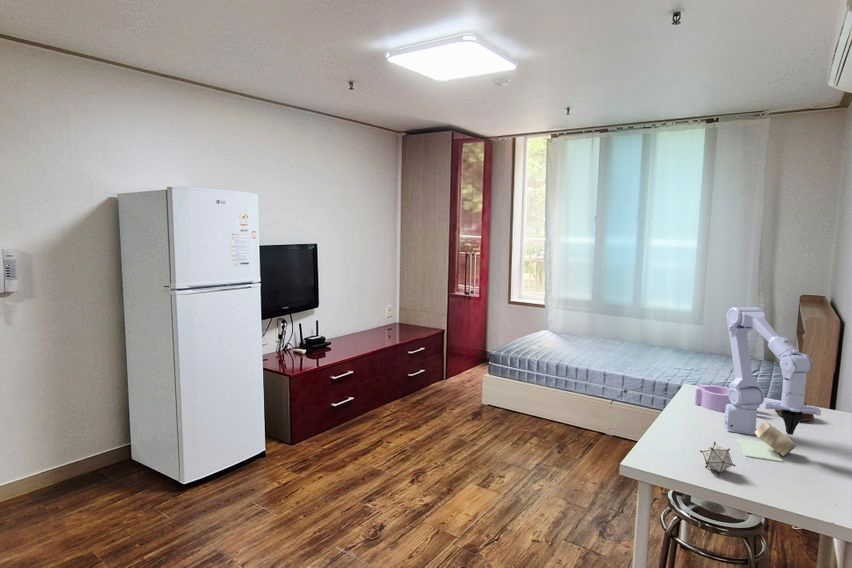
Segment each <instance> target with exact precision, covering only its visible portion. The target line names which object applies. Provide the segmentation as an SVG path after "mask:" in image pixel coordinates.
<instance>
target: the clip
mask: <svg viewBox="0 0 852 568" xmlns="http://www.w3.org/2000/svg"><path fill="white" fill-rule="evenodd" d="M694 393H695V394H694V405H695V406H700V407H702V408H704V409H707V410H710V411H714V412H721V413H725V408H726V404H731V402H730V400H729V397H728V393H729V387H727V386H726V387H725V386H721V385H714V384H713V385H711V384H708V385H707V384H706V385H705V384H702V383H699V384H698V387H695V392H694Z"/></svg>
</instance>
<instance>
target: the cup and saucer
mask: <svg viewBox="0 0 852 568" xmlns="http://www.w3.org/2000/svg"><path fill="white" fill-rule="evenodd" d="M804 405H806V406H808V404H807V402H806V401H804ZM774 412H775V413H776V414H777V415H779V416H781V417H782V414H781V412H780V410H774ZM802 414H803V415H804V416H803V419H802V420H801V421H800V422H807V421H811V420H813V419H814V417H815V414H808V413H802Z"/></svg>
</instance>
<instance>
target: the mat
mask: <svg viewBox="0 0 852 568" xmlns="http://www.w3.org/2000/svg"><path fill="white" fill-rule="evenodd" d="M735 439H736V441H737V444H738V446H739V448H740V450H741V451H742V454H743V455H744V457H747V458H751V459H753V458H754V459H758V460H765V461H773V462H780V463H783V462H784V461H783V459H782V458H781V456H780V453H778V452H777V451H776V450H774V449H773V448H772V447H770V446H769V445H768V444H766V443H765V442H763V441H762V440H759V441H758V440H752V439H746V438H739V437H738V438H737V437H736V438H735Z"/></svg>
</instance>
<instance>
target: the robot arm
mask: <svg viewBox="0 0 852 568" xmlns="http://www.w3.org/2000/svg"><path fill="white" fill-rule="evenodd" d="M725 316H726V324H727V325H726V326H727V330H728V334H729V342H730V348H731V349H730V350H731V356H732V357H731V358H732V363H733V370H734V379H733V380H732V381H731V382H729V384H728V388H729V393H728V397H729V400H730V402H731V404H726V408H725V412H724V422H723V424H724V426H725V428H726V430H727V432H730V433H738V434H745V435H755V436H757V435H756V433H755V431H756V430H757V429H756V428H757V427H756V426H757V418H758V417H757V415H758V409H759V408H760V405H762V404H763V408H764V409H765V410H768V411H769V410H774V411H775V410H780V412H781V414H782V416H781V417H782V420H783V422H784V426H785V433H786V434H787V435H791V436H793V435H794V433H795V430H796V428H797V426H798V425H799V424H800V422H802V421H801V420H802V419H803V416H804V415H803V414H802V413H808V414H814V415H816V416H819V417H820V416H821V414H822V413H821V412H822V409H821V408H820V407H816V406H810V405H807V406H806V405H804V402H805V394H806V383H807V375H808V373H810V372H811V371H812V370H813V361H812V359H811V358H810V356H809V355H808V354H805V353H802V352H799V351H798V349H796V348H795V347H794V345H793V344H792V343H790V341H789V339H788V337H784V336H779V335H778V334H777V332H776V331H775V330H774V329H773V327H772V326H771V324H770V323H769V321H767V319H766V313H765V312H764V311H763V310H762V309H761V308H760V307H758V306H754V307H753V306H752V307H734V306H733V307H731V308H729V310H728V311H727V313H726V314H725ZM753 329H754V330H756V332H757V333H758V334H760V335H761V336H762V338H763V339H764V340H766V342H768V344H767V347H768V349H769V350H770V351H771V352H772V353H773V355H774V356H775V357H776V358H777V359H778V360H779V367H780V368H781V376H782V379H783V380H782V390H781V399H780V401H765V394H764V392H763V390H762V387H761V383H760V382H759V381H757V380H756V379H754V376H753V375H754V374H753V369H752V368H753V367H752V361H751V355H750V347H749V341H748V336H747V335H748V333H750V331H752V330H753Z"/></svg>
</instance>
